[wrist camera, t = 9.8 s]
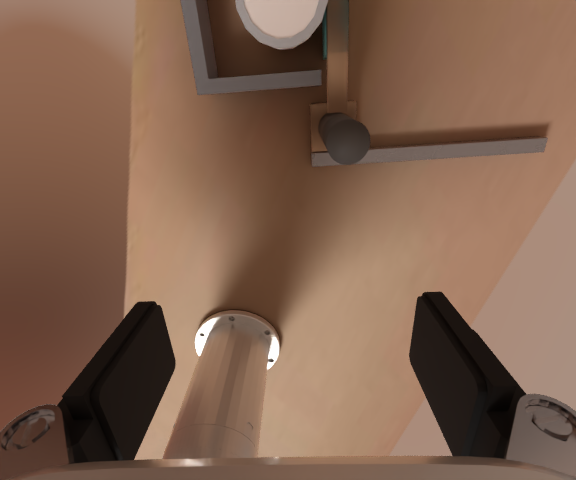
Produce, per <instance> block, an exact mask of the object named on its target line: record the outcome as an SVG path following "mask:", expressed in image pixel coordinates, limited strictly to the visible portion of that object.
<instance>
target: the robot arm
mask: <svg viewBox="0 0 576 480" xmlns="http://www.w3.org/2000/svg"><path fill="white" fill-rule="evenodd" d="M195 347H196V351H197V353H198V355H199V359H198V362H197V365H196V367H195V370H194V373H193V375H192V378H191V381H190V383H189V386H188V389H187V392H186V394H185V397H184V400H183V402H182V405H181V408H180V410H179V413H178V416H177V419H176V421H175V424H174V427H173V430H172V432H171V435H170V437H169V440H168V443H167V446H166V448H165V451H164V454H163V458H162V459H156V460H134V458H135V456H136V454H137V452H138V449H139V447H140V445H141V443H142V441H143V438H144V436H145V434H146V432H147V429H148V427H149V425H150V423H151V421H152V418H153V416H154V414H155V412H156V410H157V407H158V405H159V403H160V401H161V398H162V396H163V394H164V392H165V390H166V387H167V385H168V383H169V381H170V379H171V376H172V374H173V372H174V369H175V357H174V353H173V349H172V346H171V342H170V338H169V334H168V330H167V327H166V323H165V319H164V315H163V311H162V308H161V306H160V305H157V304H156V302H154V301H148V302H137V303H136V304H135V305H134V307H133V308H132V309H131V310H130V312H129V313H128V314H127V315H126V317H125V318H124V319H123V320H122V322H121V323H120V325H119V326H118V327H117V328H116V329H115V331H114V332H113V333H112V334H111V335H110V337H109V338H108V339H107V340H106V342H105V343H104V344H103V345H102V347H101V348H100V349H99V351H98V352H97V353H96V354H95V356H94V357H93V358H92V359H91V361H90V362H89V363H88V364H87V366H86V367H85V368H84V369H83V371H82V372H81V373H80V374H79V376H78V377H77V378H76V379H75V381H74V382H73V383H72V384H71V386H70V387H69V388H68V389H67V391H66V392H65V393H64V394H63V396H62V397H63V399H62V400H61V401H60V402H59V404H58V405H57V406H56V405H52V404H46V405H42V406H38V407H35V408H32V409H30V410H28V411H26V412H24V413H22V414H21V415H19V416H17V417H16V418H15V419H13V420H12V421H11V422H10V423H8V424H7V425H6V426H5V427H4V428H3V429H2V430H1V431H0V480H576V411H575V410H573V409H572V408H571V407H569V406H568V405H566V404H564V403H562V402H560V401H558V400H557V399H554V398H551V397H548V396H545V395H540V394H526V393H525V392H524V391H523V390H522V389H521V387H520V386H519V385H518V383H517V382H516V381H515V380H514V378H513V377H512V376H511V375H510V373H509V372H508V371H507V370H506V369H505V367H504V366H503V365H502V364H501V362H500V361H499V360H498V359H497V357H496V356H495V355H494V354H493V352H492V351H491V350H490V349H489V347H488V346H487V345H486V344H485V342H484V341H483V340H482V339H481V338H480V336H479V335H478V334H477V333H476V332H475V331H474V330H472V329H471V328H470V327H469V325H468V324H467V323H466V322H465V320H464V319H463V318H462V317H461V315H460V314H459V313H458V312H457V310H456V309H455V308H454V307H453V305H452V304H451V303H450V302H449V300H448V299H447V298H446V297H445V295H444V294H443V293H442V292H424V293H423V294H422V296H419V297H418V298H417V304H416V311H415V318H414V325H413V332H412V339H411V346H410V353H409V357H410V362H411V365H412V367H413V370H414V372H415V374H416V376H417V378H418V381H419V383H420V385H421V387H422V389H423V392H424V394H425V396H426V398H427V400H428V402H429V405H430V407H431V409H432V411H433V413H434V415H435V418H436V420H437V422H438V425H439V427H440V429H441V431H442V433H443V435H444V438H445V440H446V442H447V444H448V446H449V449H450V451H451V453H452V455H453V456H333V457H261V458H257V455H258V446H259V438H260V429H261V420H262V411H263V402H264V393H265V384H266V375H267V370H268V369H269V368H271V367H272V366H273V365H274V363H275V362H276V360H277V359H278V356H279V352H280V340H279V337H278V334H277V332H276V330H275V329H274V327H273V326H272V325H271V324H270V323H269V322H267V321H266V320H265V319H263V318H262V317H260V316H258V315H256V314H253V313H250V312H246V311H240V310H228V311H222V312H219V313H216V314H214V315H212V316H210V317H208V318H207V319H206V320H205V321H204V322H203V323H202V324H201V326H200V327H199V329H198V331H197V334H196V338H195Z"/></svg>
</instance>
